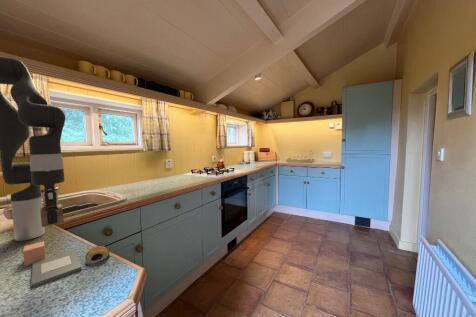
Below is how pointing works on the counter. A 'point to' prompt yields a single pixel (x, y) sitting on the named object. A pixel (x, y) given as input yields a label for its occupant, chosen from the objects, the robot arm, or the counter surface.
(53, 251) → the counter surface
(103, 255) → the pastry
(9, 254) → the counter surface
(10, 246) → the counter surface
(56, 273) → the plate
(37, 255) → the terracotta block
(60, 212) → the walnut block
